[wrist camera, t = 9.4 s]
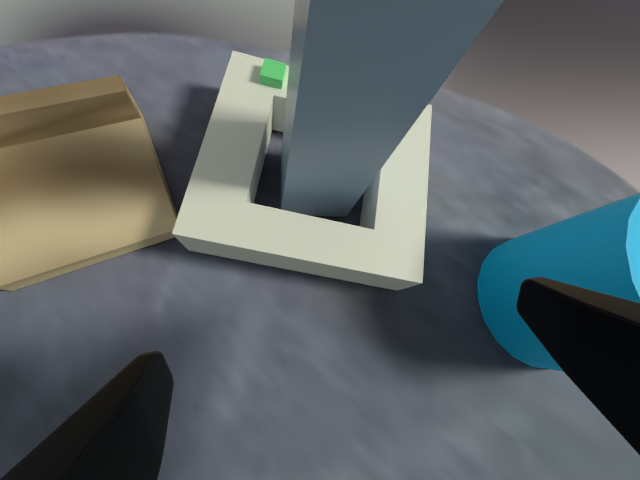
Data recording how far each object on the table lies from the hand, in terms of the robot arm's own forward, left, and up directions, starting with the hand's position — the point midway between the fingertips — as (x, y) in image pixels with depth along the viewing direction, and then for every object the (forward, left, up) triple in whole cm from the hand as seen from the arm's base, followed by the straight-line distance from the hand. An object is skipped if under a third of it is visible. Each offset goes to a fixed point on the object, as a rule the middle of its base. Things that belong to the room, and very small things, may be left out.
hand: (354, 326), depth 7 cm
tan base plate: (+5, +13, -9) cm, 17 cm away
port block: (+8, +1, -9) cm, 13 cm away
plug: (+8, +1, -9) cm, 13 cm away
